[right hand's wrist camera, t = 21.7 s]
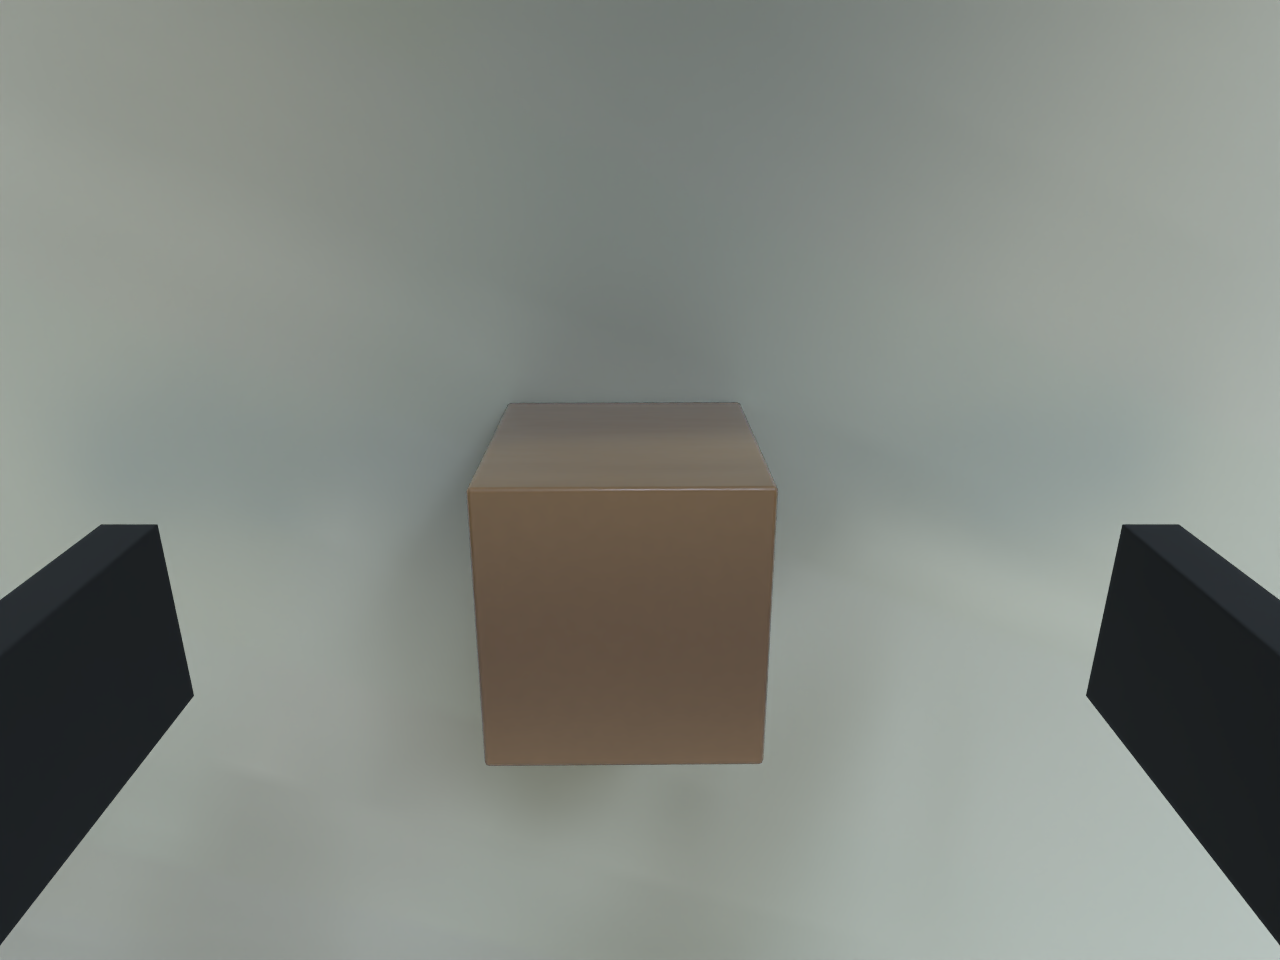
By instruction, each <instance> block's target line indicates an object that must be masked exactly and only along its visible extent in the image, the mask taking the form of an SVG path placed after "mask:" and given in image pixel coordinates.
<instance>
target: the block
mask: <svg viewBox="0 0 1280 960" xmlns="http://www.w3.org/2000/svg"><path fill="white" fill-rule="evenodd" d="M466 493H467V508H468V523H469V537H470V552H471V566H472V581H473V595H474V610H475V624H476V639H477V653H478V668H479V682H480V697H481V711H482V726H483V740H484V755H485V762H486V765H489V766H525V765H664V764H760V763H762V761H763V756H764V738H765V719H766V701H767V682H768V664H769V645H770V627H771V608H772V590H773V571H774V553H775V534H776V516H777V497H778V489H777V487H776V485H775V482H774V480H773V478H772V476H771V473H770V471H769V469H768V466H767V464H766V462H765V460H764V457H763V455H762V453H761V451H760V448H759V446H758V444H757V442H756V439H755V437H754V435H753V433H752V430H751V428H750V426H749V423H748V421H747V419H746V417H745V414H744V412H743V410H742V408H741V405H740V404H739V403H510V404H508V406H507V408H506V410H505V412H504V414H503V416H502V418H501V420H500V422H499V424H498V427H497V429H496V431H495V433H494V435H493V437H492V439H491V441H490V443H489V445H488V447H487V449H486V451H485V453H484V455H483V458H482V460H481V462H480V464H479V466H478V468H477V470H476V472H475V474H474V476H473V478H472V480H471V482H470V484H469V486H468V489H467V491H466Z"/></svg>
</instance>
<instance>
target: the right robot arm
mask: <svg viewBox="0 0 1280 960" xmlns="http://www.w3.org/2000/svg"><path fill="white" fill-rule="evenodd" d="M193 696H194V694H193V689H192V684H191V680H190V675H189V670H188V665H187V661H186V656H185V651H184V647H183V642H182V637H181V633H180V628H179V623H178V619H177V614H176V609H175V604H174V600H173V595H172V590H171V586H170V581H169V576H168V572H167V567H166V562H165V557H164V553H163V548H162V543H161V539H160V534H159V529H158V525H100V526H99V527H97V528H96V529H95V530H93V531H92V532H91V533H89V534H88V535H87V536H85V537H84V538H83V539H81V540H80V541H79V542H77V543H76V544H75V545H73V546H72V547H71V548H69V549H68V550H67V551H65V552H64V553H63V554H61V555H60V556H58V557H57V558H56V559H54V560H53V561H52V562H50V563H49V564H48V565H46V566H45V567H44V568H42V569H41V570H40V571H38V572H37V573H36V574H34V575H33V576H32V577H30V578H29V579H28V580H26V581H25V582H24V583H22V584H21V585H20V586H18V587H17V588H16V589H14V590H13V591H12V592H10V593H9V594H8V595H6V596H5V597H4V598H2V599H1V600H0V945H1V943H2V942H3V941H4V940H5V938H6V937H7V936H8V934H9V933H10V932H11V931H12V929H13V928H14V927H15V925H16V924H17V923H18V922H19V920H20V919H21V918H22V916H23V915H24V914H25V913H26V911H27V910H28V909H29V907H30V906H31V905H32V903H33V902H34V901H35V900H36V898H37V897H38V896H39V894H40V893H41V892H42V891H43V889H44V888H45V887H46V885H47V884H48V883H49V882H50V880H51V879H52V878H53V876H54V875H55V874H56V873H57V871H58V870H59V869H60V867H61V866H62V865H63V864H64V862H65V861H66V860H67V858H68V857H69V856H70V855H71V853H72V852H73V851H74V849H75V848H76V847H77V846H78V844H79V843H80V842H81V840H82V839H83V838H84V837H85V835H86V834H87V833H88V831H89V830H90V829H91V827H92V826H93V825H94V824H95V822H96V821H97V820H98V818H99V817H100V816H101V815H102V813H103V812H104V811H105V809H106V808H107V807H108V806H109V804H110V803H111V802H112V800H113V799H114V798H115V797H116V795H117V794H118V793H119V791H120V790H121V789H122V788H123V786H124V785H125V784H126V782H127V781H128V780H129V779H130V777H131V776H132V775H133V773H134V772H135V771H136V770H137V768H138V767H139V766H140V764H141V763H142V762H143V761H144V759H145V758H146V757H147V755H148V754H149V753H150V751H151V750H152V749H153V748H154V746H155V745H156V744H157V742H158V741H159V740H160V739H161V737H162V736H163V735H164V733H165V732H166V731H167V730H168V728H169V727H170V726H171V724H172V723H173V722H174V721H175V719H176V718H177V717H178V715H179V714H180V713H181V712H182V710H183V709H184V708H185V706H186V705H187V704H188V703H189V701H190V700H191V699H192V697H193ZM1086 696H1087V697H1088V699H1089V700H1090V701H1091V703H1092V704H1093V705H1094V706H1095V708H1096V709H1097V710H1098V712H1099V713H1100V714H1101V715H1102V717H1103V718H1104V719H1105V721H1106V722H1107V723H1108V724H1109V726H1110V727H1111V728H1112V730H1113V731H1114V732H1115V733H1116V735H1117V736H1118V737H1119V739H1120V740H1121V741H1122V742H1123V744H1124V745H1125V746H1126V748H1127V749H1128V750H1129V751H1130V753H1131V754H1132V755H1133V757H1134V758H1135V759H1136V761H1137V762H1138V763H1139V764H1140V766H1141V767H1142V768H1143V770H1144V771H1145V772H1146V773H1147V775H1148V776H1149V777H1150V779H1151V780H1152V781H1153V782H1154V784H1155V785H1156V786H1157V788H1158V789H1159V790H1160V791H1161V793H1162V794H1163V795H1164V797H1165V798H1166V799H1167V800H1168V802H1169V803H1170V804H1171V806H1172V807H1173V808H1174V809H1175V811H1176V812H1177V813H1178V815H1179V816H1180V817H1181V818H1182V820H1183V821H1184V822H1185V824H1186V825H1187V826H1188V827H1189V829H1190V830H1191V831H1192V833H1193V834H1194V835H1195V837H1196V838H1197V839H1198V840H1199V842H1200V843H1201V844H1202V846H1203V847H1204V848H1205V849H1206V851H1207V852H1208V853H1209V855H1210V856H1211V857H1212V858H1213V860H1214V861H1215V862H1216V864H1217V865H1218V866H1219V867H1220V869H1221V870H1222V871H1223V873H1224V874H1225V875H1226V876H1227V878H1228V879H1229V880H1230V882H1231V883H1232V884H1233V885H1234V887H1235V888H1236V889H1237V891H1238V892H1239V893H1240V894H1241V896H1242V897H1243V898H1244V900H1245V901H1246V902H1247V904H1248V905H1249V906H1250V907H1251V909H1252V910H1253V911H1254V913H1255V914H1256V915H1257V916H1258V918H1259V919H1260V920H1261V922H1262V923H1263V924H1264V925H1265V927H1266V928H1267V929H1268V931H1269V932H1270V933H1271V934H1272V936H1273V937H1274V938H1275V940H1276V941H1277V942H1278V943H1279V945H1280V600H1279V599H1278V598H1276V597H1275V596H1274V595H1272V594H1271V593H1270V592H1268V591H1267V590H1266V589H1264V588H1263V587H1262V586H1260V585H1259V584H1258V583H1256V582H1255V581H1254V580H1252V579H1251V578H1250V577H1248V576H1247V575H1246V574H1244V573H1243V572H1242V571H1240V570H1239V569H1238V568H1236V567H1235V566H1234V565H1232V564H1231V563H1230V562H1228V561H1227V560H1226V559H1224V558H1223V557H1221V556H1220V555H1219V554H1217V553H1216V552H1215V551H1213V550H1212V549H1211V548H1209V547H1208V546H1207V545H1205V544H1204V543H1203V542H1201V541H1200V540H1199V539H1197V538H1196V537H1195V536H1193V535H1192V534H1191V533H1189V532H1188V531H1187V530H1185V529H1184V528H1183V527H1181V526H1180V525H1122V529H1121V534H1120V539H1119V543H1118V548H1117V553H1116V557H1115V562H1114V567H1113V572H1112V576H1111V581H1110V586H1109V590H1108V595H1107V600H1106V604H1105V609H1104V614H1103V619H1102V623H1101V628H1100V633H1099V637H1098V642H1097V647H1096V651H1095V656H1094V661H1093V665H1092V670H1091V675H1090V680H1089V684H1088V689H1087V694H1086Z"/></svg>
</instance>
